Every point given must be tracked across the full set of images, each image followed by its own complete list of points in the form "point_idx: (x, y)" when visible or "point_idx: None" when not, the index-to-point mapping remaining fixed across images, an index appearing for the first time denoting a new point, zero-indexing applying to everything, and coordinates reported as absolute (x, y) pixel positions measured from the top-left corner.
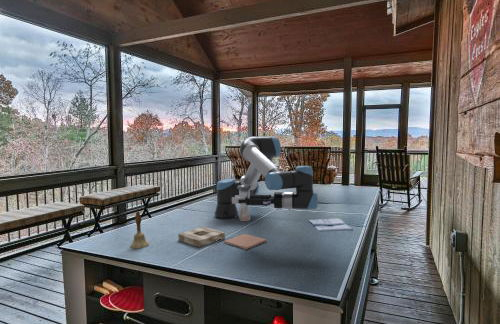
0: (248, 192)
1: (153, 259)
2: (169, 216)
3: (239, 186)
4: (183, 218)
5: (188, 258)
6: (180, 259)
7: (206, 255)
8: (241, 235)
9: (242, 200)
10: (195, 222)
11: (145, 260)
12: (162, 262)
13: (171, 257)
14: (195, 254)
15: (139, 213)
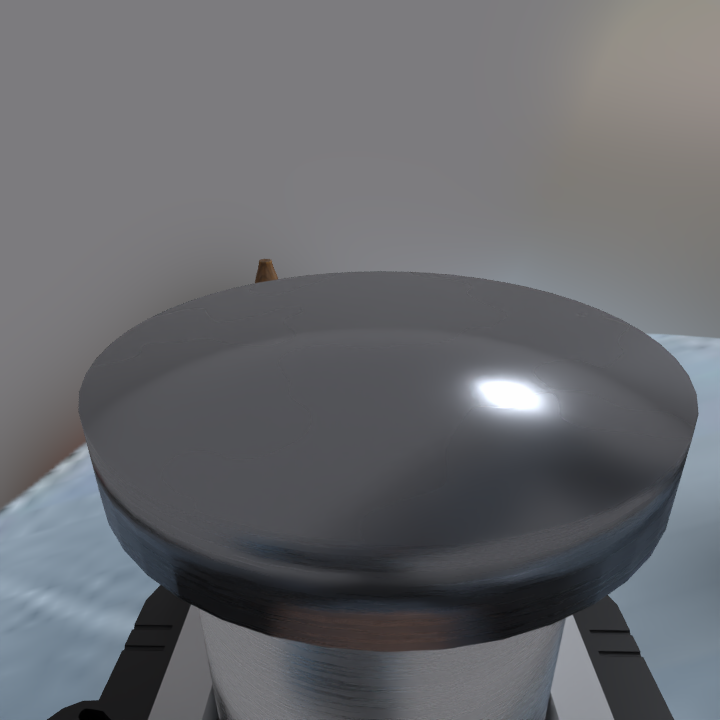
0: (262, 687)
1: (87, 478)
2: (692, 355)
3: (240, 296)
4: (714, 396)
5: (33, 609)
6: (35, 575)
7: (43, 705)
8: None
9: (116, 681)
10: (697, 453)
11: (86, 460)
12: (28, 518)
13: (87, 529)
14: (93, 625)
15: (265, 269)
